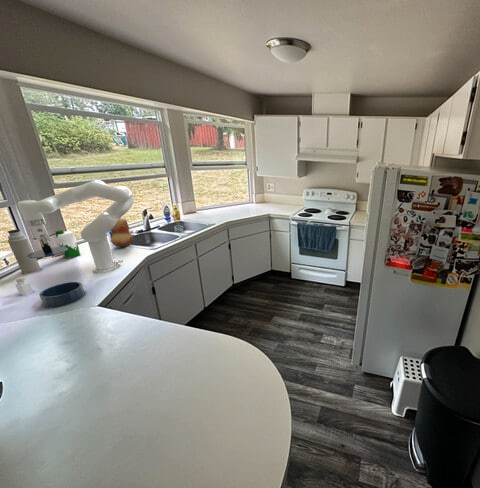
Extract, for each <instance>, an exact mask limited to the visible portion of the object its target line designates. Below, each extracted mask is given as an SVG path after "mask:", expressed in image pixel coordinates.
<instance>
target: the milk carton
mask: <svg viewBox="0 0 480 488" xmlns="http://www.w3.org/2000/svg"><path fill="white" fill-rule="evenodd" d="M54 235H55V238H56V240H57V243H58V247H66V248H67V251H65V252H63V253H62V254H63V257H65V258H66V259H70V258H76V257H79V256H81V251H80V247H79V244H78V242H77V238H76V236H75V234H74V232H73V231H71V230H67V231H65V230H63V229H58V230H55V231H54Z"/></svg>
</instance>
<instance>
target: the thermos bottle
mask: <svg viewBox="0 0 480 488" xmlns="http://www.w3.org/2000/svg"><path fill="white" fill-rule="evenodd" d="M7 234H8V236H7V239H8V240H7V243H8V245H9V247H10V249H11V251H12V254H13V256H14V258H15V260H16V262H17V265H18V267H19V269H20V271H21V274H23V275H28V274H33V273H36V272H39V271H41V266H40V264H39V261H38V258H28V257H27V255H28V254H30V253H32V252H34V249H33V247H32V245H31V241H30V240H29V238H28V236H26V235H25V233H22V231H21V229H18V228H17V229H11V230H7Z"/></svg>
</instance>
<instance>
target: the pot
mask: <svg viewBox="0 0 480 488" xmlns="http://www.w3.org/2000/svg"><path fill="white" fill-rule="evenodd" d="M85 294H86V292H85V289H84V287H83V283H82V282H80V281H68V282H63V283H58V284H55V285H52V286H50V287H47V288H45V289H44V290H42V291H41V292H40V293H39V295H38V296H39V297H40V300H41V302H42V304H43V306H44V307H46V308H58V307H59V308H60V307H64V306H67V305H70V304H72V303H75V302H77V301H79V300H81V299H82V298H84V297H85V296H86V295H85Z"/></svg>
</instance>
